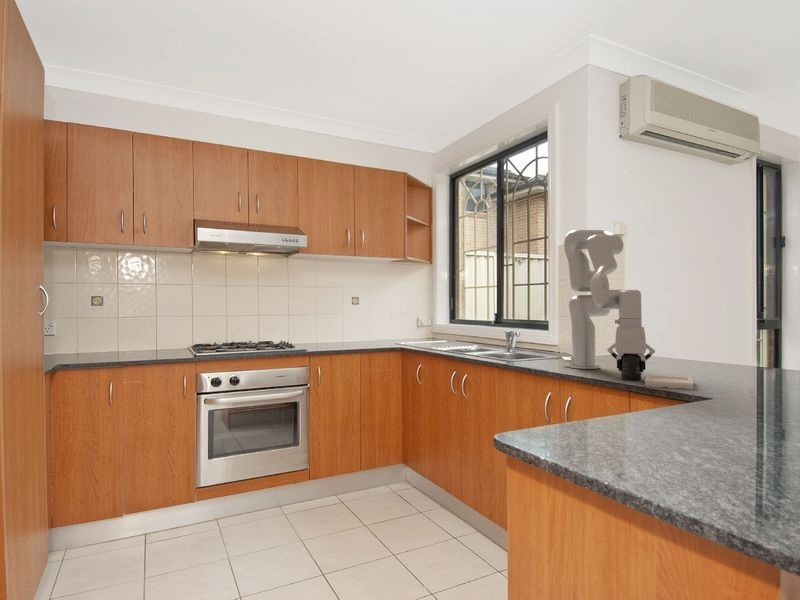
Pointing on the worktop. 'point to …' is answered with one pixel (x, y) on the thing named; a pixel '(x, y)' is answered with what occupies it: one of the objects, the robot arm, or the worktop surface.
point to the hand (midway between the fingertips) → (631, 370)
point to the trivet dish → (668, 381)
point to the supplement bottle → (631, 367)
